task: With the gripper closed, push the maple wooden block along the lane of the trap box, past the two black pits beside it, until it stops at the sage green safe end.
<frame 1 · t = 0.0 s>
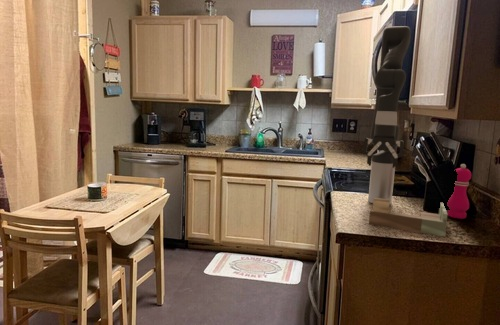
hand: (381, 166, 139), 17 cm above the countertop, tool pointing down, fingers open, 8 cm apart
candy box: (445, 209, 148), on the countertop
maple block: (380, 214, 128), point 2 cm above the countertop, touching trap box
trap box: (404, 222, 128), on the countertop
pepper mill: (456, 216, 138), on the countertop
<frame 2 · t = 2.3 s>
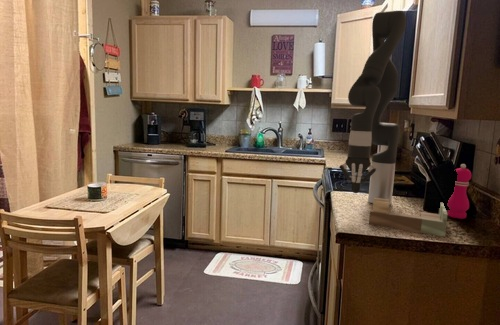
hand: (355, 192, 130), 9 cm above the countertop, tool pointing down, fingers closed
nothing on the countertop moved.
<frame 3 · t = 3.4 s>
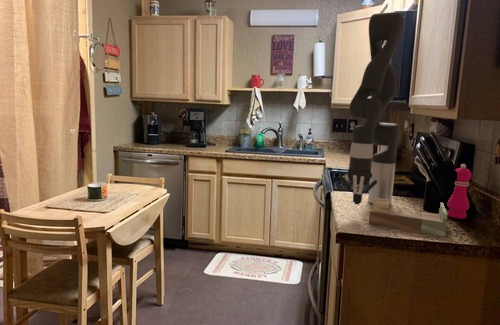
hand: (356, 203, 131), 5 cm above the countertop, tool pointing down, fingers closed
nothing on the countertop moved.
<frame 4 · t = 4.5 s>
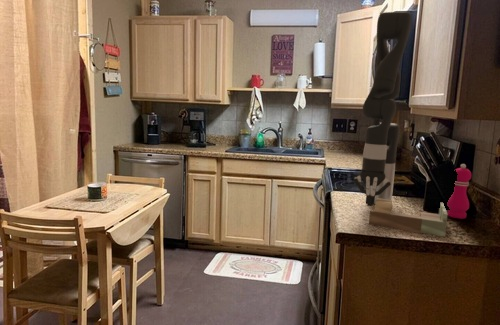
hand: (369, 205, 129), 5 cm above the countertop, tool pointing down, fingers closed
maple block: (382, 214, 127), point 2 cm above the countertop, touching gripper, trap box
everything else where it was.
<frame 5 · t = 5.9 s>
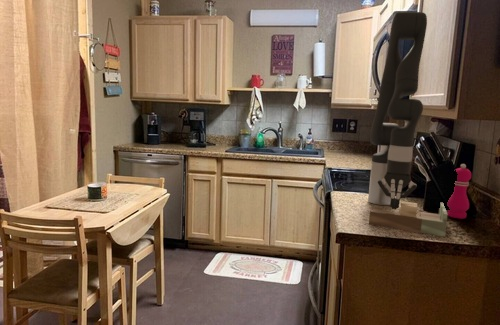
hand: (394, 208, 125), 5 cm above the countertop, tool pointing down, fingers closed
maple block: (407, 218, 124), point 3 cm above the countertop, touching gripper
everything else where it was.
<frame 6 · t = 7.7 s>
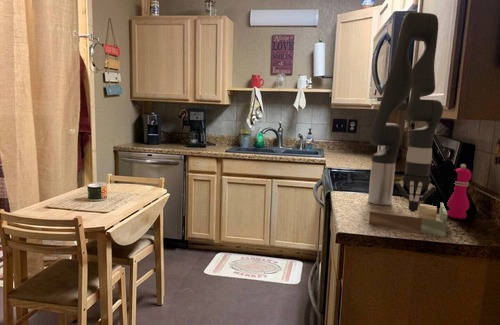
hand: (412, 211, 123), 5 cm above the countertop, tool pointing down, fingers closed
maple block: (426, 221, 122), point 2 cm above the countertop, touching gripper, trap box
everything else where it was.
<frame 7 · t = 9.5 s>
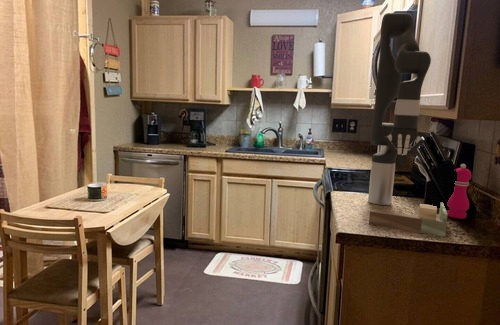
hand: (400, 165, 124), 20 cm above the countertop, tool pointing down, fingers closed
maple block: (426, 221, 122), point 2 cm above the countertop, touching trap box
everything else where it was.
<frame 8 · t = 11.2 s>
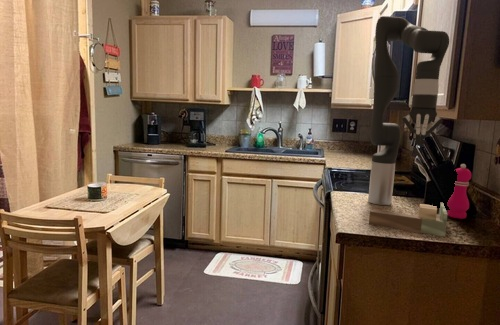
hand: (419, 145, 124), 27 cm above the countertop, tool pointing down, fingers closed
nothing on the countertop moved.
at the end: maple block inside the target area (1.1 cm from its centre), point 2.5 cm above the countertop; maple block tilted 0° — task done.
